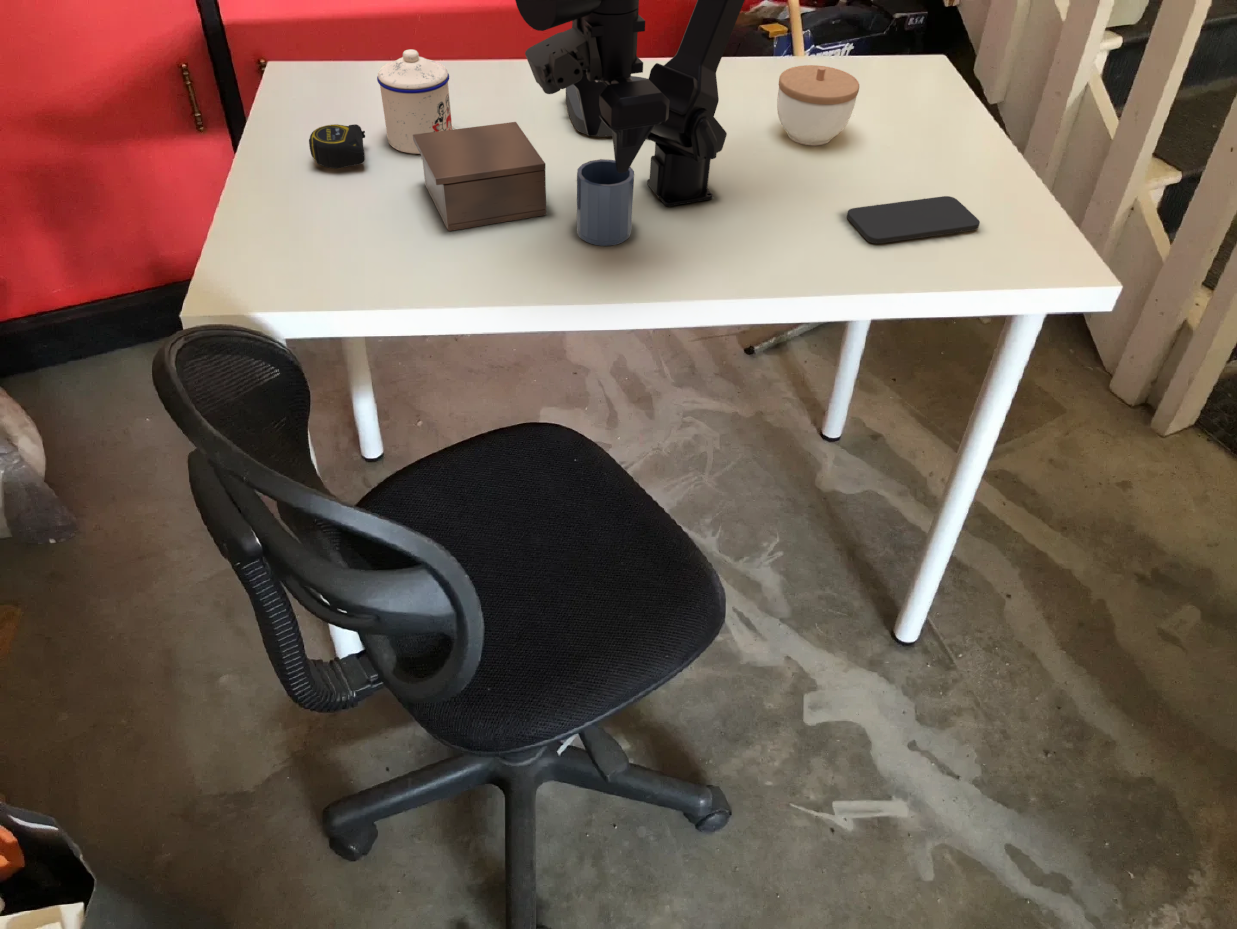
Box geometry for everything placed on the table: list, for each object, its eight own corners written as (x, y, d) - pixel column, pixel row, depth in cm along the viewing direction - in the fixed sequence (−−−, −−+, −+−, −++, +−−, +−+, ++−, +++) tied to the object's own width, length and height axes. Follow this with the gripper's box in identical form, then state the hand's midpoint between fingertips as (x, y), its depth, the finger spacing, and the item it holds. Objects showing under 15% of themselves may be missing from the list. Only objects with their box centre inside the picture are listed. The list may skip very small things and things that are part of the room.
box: (448, 231, 109) (443, 185, 105) (425, 185, 117) (420, 141, 113) (546, 215, 113) (545, 170, 109) (518, 171, 120) (516, 127, 116)
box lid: (436, 185, 105) (435, 178, 104) (413, 140, 113) (412, 134, 112) (545, 169, 109) (545, 163, 108) (516, 127, 116) (516, 121, 116)
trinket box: (862, 147, 129) (878, 78, 122) (794, 158, 126) (806, 88, 119) (822, 114, 136) (835, 48, 129) (757, 124, 133) (767, 57, 126)
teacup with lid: (449, 157, 122) (440, 67, 114) (379, 154, 122) (366, 64, 114) (462, 117, 131) (455, 31, 123) (397, 114, 131) (386, 28, 123)
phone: (844, 208, 115) (952, 194, 118) (842, 214, 115) (950, 200, 118) (871, 240, 110) (984, 224, 113) (870, 246, 110) (982, 230, 113)
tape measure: (367, 172, 119) (362, 144, 116) (311, 175, 118) (305, 147, 115) (367, 148, 124) (363, 120, 121) (314, 150, 123) (308, 122, 120)
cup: (619, 214, 114) (621, 155, 108) (639, 240, 109) (642, 181, 104) (569, 222, 112) (569, 163, 107) (588, 249, 108) (588, 189, 102)
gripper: (504, -19, 97) (512, 127, 108) (564, 48, 84) (565, 205, 95) (605, -28, 100) (602, 114, 111) (676, 35, 88) (665, 188, 99)
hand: (606, 153), depth 104 cm, fingers open, 9 cm apart
